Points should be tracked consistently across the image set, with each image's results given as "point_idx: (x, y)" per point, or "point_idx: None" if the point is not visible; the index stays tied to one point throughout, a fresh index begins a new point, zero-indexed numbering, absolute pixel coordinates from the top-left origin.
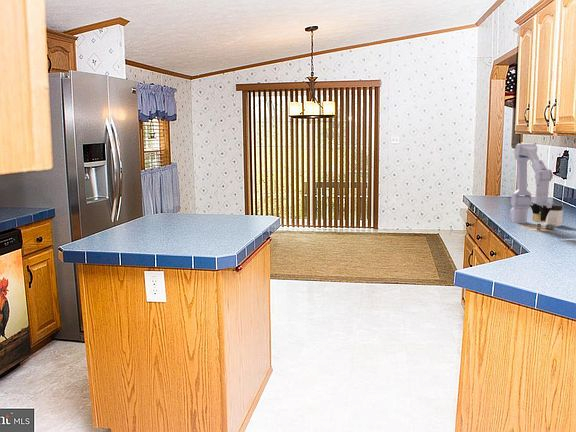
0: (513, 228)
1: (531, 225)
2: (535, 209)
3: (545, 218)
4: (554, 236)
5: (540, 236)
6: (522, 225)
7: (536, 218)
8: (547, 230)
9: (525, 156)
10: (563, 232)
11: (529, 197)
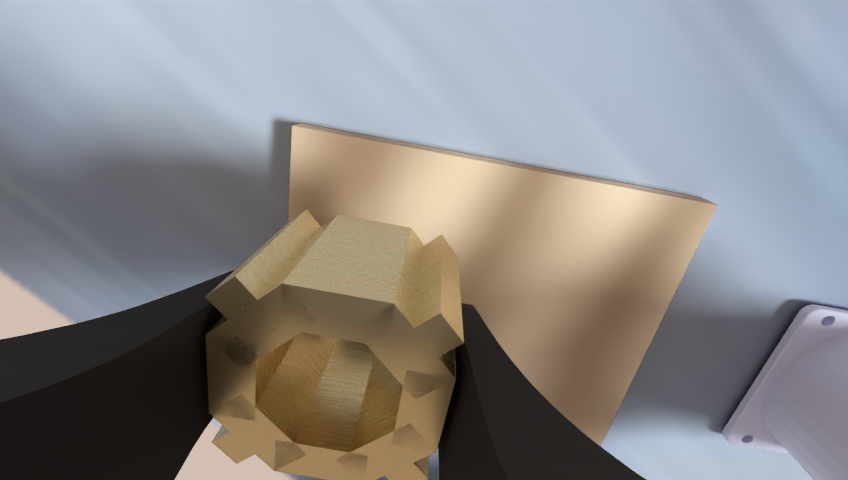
0: (684, 81)
1: (626, 364)
2: (467, 471)
3: None
4: (113, 198)
5: (110, 17)
6: (685, 268)
7: (316, 240)
8: None
9: None
10: None
11: None
